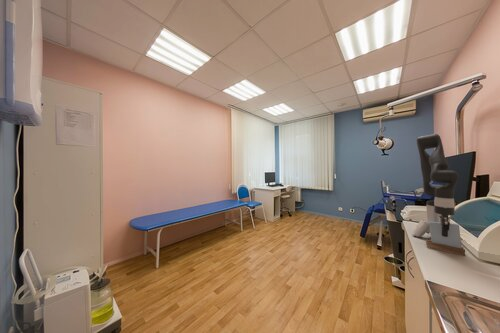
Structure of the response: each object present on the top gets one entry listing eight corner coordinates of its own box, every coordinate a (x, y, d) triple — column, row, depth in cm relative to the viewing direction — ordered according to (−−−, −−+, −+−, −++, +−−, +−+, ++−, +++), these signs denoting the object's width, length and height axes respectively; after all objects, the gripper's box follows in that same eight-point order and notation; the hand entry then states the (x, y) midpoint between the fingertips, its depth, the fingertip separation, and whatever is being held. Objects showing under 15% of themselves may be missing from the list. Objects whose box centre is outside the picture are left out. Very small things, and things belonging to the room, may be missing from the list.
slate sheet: (431, 243, 99) (429, 221, 99) (461, 248, 91) (458, 224, 92) (432, 244, 98) (429, 222, 98) (462, 249, 90) (458, 224, 91)
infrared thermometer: (446, 233, 109) (427, 221, 109) (434, 248, 110) (415, 236, 110) (438, 230, 114) (420, 218, 113) (427, 244, 115) (409, 232, 114)
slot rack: (426, 244, 101) (426, 239, 101) (463, 252, 92) (463, 246, 92) (426, 247, 98) (426, 242, 98) (465, 255, 88) (465, 250, 88)
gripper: (432, 202, 102) (433, 230, 102) (435, 206, 92) (436, 237, 92) (451, 204, 97) (452, 234, 97) (457, 208, 87) (457, 242, 87)
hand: (444, 235), depth 95 cm, fingers closed on slate sheet
